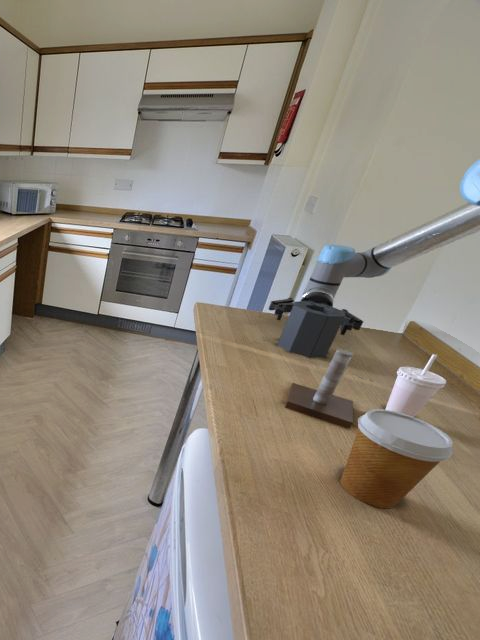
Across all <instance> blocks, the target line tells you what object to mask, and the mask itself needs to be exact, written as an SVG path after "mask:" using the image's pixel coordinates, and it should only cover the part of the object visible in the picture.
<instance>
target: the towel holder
mask: <svg viewBox="0 0 480 640" xmlns="http://www.w3.org/2000/svg"><path fill="white" fill-rule="evenodd" d="M353 356H354V353H353V352H352V351H349V350H347V349H341V348H338V349H336V350H335V352H334V355H333V357H332V358H331V361H330V363H329V365H328V367H327V369H326V371H325V373H324V375H323V377H322V379H321V382H320V383H319V385H318V388H317V389H314V388H311V387H308V386H305V385H301V384H298V383H295V382H291V384H290V387H289V390H288V394H287V397H286V401H285V404H284V408H285V409H289V410H291V411H294V412H298V413H300V414H302V415H305V416H309V417H313V418H315V419H318V420H320V421H324V422H327V423H329V424H333V425H336V426H338V427H342V428H345V429H348V430H350V429H351V428H352V426H353V424H354V401H353V400H351V399H347V398H344V397H341V396H337V395H334V393H335V391H336V390H337V387H338V385H339V384H340V382H341V379H342V377H343V375H344V373H345V371H346V369H347V367H348V365H349V364H350V361H351V360H352V359H353Z"/></svg>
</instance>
